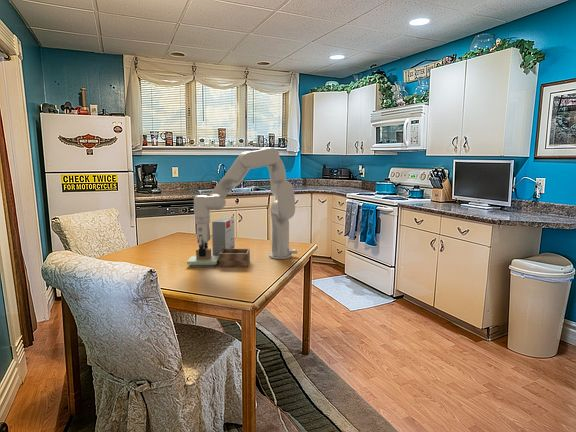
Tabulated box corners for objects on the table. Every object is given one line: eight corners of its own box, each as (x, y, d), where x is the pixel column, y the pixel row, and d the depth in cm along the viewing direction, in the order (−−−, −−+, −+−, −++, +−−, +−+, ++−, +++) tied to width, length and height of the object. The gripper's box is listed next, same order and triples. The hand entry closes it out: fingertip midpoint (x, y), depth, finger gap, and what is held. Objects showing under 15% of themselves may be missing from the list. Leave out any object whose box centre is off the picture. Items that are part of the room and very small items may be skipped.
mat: (217, 261, 193) (217, 260, 193) (213, 267, 183) (213, 266, 183) (194, 261, 193) (194, 260, 193) (189, 267, 183) (189, 266, 183)
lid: (220, 260, 193) (219, 246, 192) (216, 266, 183) (216, 251, 182) (192, 260, 193) (191, 246, 192) (187, 266, 183) (186, 251, 182)
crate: (249, 261, 193) (249, 248, 192) (247, 267, 183) (247, 253, 182) (223, 261, 193) (222, 248, 192) (219, 267, 183) (219, 253, 182)
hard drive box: (225, 258, 200) (224, 222, 196) (212, 257, 201) (211, 221, 198) (235, 251, 215) (234, 217, 211) (222, 250, 216) (221, 217, 213)
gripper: (206, 222, 176) (207, 259, 179) (213, 217, 193) (214, 250, 196) (190, 222, 176) (192, 259, 179) (198, 217, 193) (200, 250, 196)
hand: (203, 254), depth 187 cm, fingers open, 5 cm apart
